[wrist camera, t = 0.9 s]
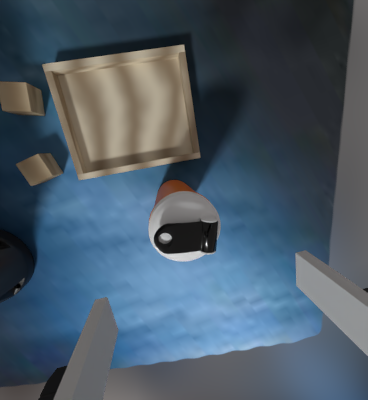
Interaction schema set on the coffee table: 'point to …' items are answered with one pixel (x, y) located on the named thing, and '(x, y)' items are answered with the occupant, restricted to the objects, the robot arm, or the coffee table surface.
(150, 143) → the tray
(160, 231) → the shaker bottle
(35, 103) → the oak block
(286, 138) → the coffee table surface
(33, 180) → the oak block
